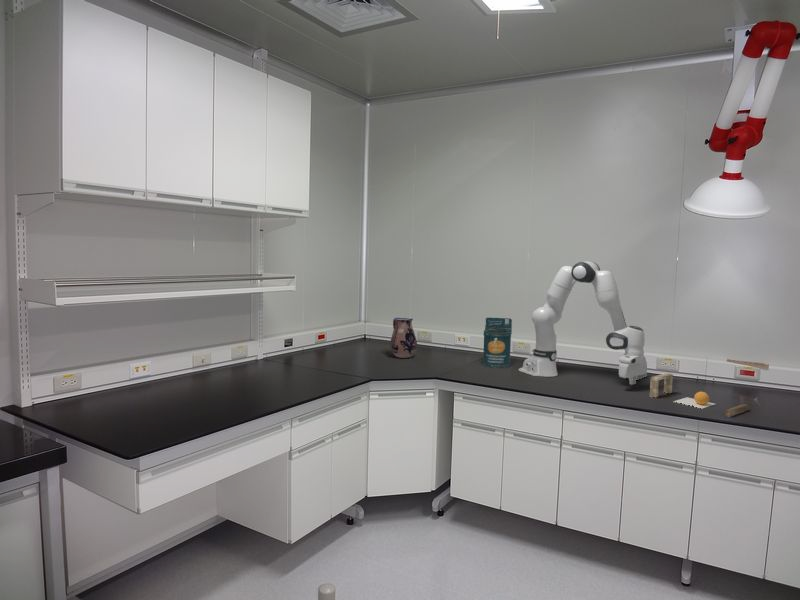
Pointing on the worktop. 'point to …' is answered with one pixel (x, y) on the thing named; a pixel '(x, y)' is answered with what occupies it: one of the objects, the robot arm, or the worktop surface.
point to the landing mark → (693, 403)
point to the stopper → (736, 410)
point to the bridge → (655, 383)
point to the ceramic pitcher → (403, 338)
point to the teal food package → (497, 342)
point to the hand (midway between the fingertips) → (632, 384)
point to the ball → (701, 398)
